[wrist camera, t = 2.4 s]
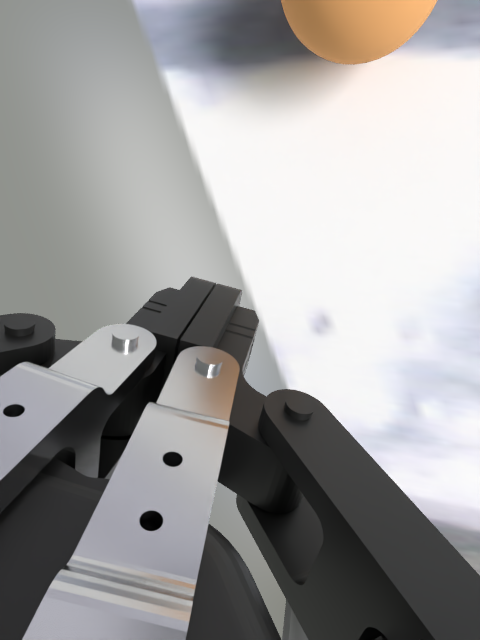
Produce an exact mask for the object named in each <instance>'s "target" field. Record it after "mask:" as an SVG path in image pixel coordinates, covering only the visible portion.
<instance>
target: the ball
mask: <svg viewBox="0 0 480 640" xmlns="http://www.w3.org/2000/svg"><path fill="white" fill-rule="evenodd" d="M436 2H437V0H281V3H282V6H283V10H284V13H285V16H286V18H287V21H288V23H289V25H290V27H291V29H292V30H293V32H294V33H295V35H296V36H297V38H298V39H299V40H300V41H301V42H302V44H304V45H305V46H306V47H307V48H308V49H309V50H310V51H312V52H313V53H315V54H316V55H317V56H319V57H322V58H324V59H326V60H328V61H332V62H335V63H340V64H361V63H367V62H370V61H373V60H377V59H379V58H381V57H384V56H386V55H388V54H389V53H391V52H393V51H394V50H396V49H398V48H399V47H400V46H401V45H403V44H404V43H405V42H407V41H408V40H409V39H410V38H411V37H412V36H413V35H414V34H415V33H416V32H417V30H418V29H419V28H420V27H421V26H422V24H423V23H424V22H425V20H426V19H427V17H428V16H429V14H430V13H431V11H432V9H433V8H434V6H435V4H436Z"/></svg>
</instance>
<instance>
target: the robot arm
mask: <svg viewBox="0 0 480 640" xmlns="http://www.w3.org/2000/svg"><path fill="white" fill-rule="evenodd" d="M241 295H242V290H240V289H236V288H232V287H228V286H224V285H221V284H217V285H216V283H213V282H209V281H206V280H202V279H199V278H195V277H191V278H190V279H189V280H188V281H187V282H186V283H185V285H184V286H183V287H182V288H181V289H180V290H177V289H173V288H167V289H164V290H161V291H159V292H156V293H155V294H154V295H153V296H152V297H151V298H150V299H149V301H148V302H147V303H146V304H145V305H144V306H143V307H142V308H141V309H140V310H139V311H138V312H137V313H136V314H135V315H134V316H133V317H132V318H131V319H130V320H129V321H128V322H127V323H126V324H112V325H108V326H104V327H102V328H100V329H98V330H97V331H96V332H95V333H93V334H92V335H90V336H89V337H88V338H87V339H85V340H84V341H71V340H60V339H55V326H54V324H53V323H52V322H51V321H50V320H48V319H46V318H44V317H41V316H38V315H33V314H23V313H17V314H7V315H1V316H0V640H281V638H280V636H279V633H278V631H277V629H276V627H275V625H274V623H273V620H272V618H271V616H270V614H269V612H268V609H267V607H266V605H265V603H264V601H263V599H262V596H261V594H260V592H259V590H258V588H257V586H256V583H255V581H254V579H253V577H252V575H251V573H250V571H249V569H248V567H247V566H246V564H245V562H244V561H243V559H242V558H241V556H240V555H239V553H238V552H237V551H236V550H235V548H234V547H233V546H232V544H231V543H230V542H229V541H228V540H227V539H226V538H225V537H224V536H223V535H222V534H221V533H220V532H219V531H218V530H216V529H215V528H214V527H213V526H211V525H210V524H209V519H210V514H211V509H212V505H213V499H214V495H215V490H216V485H217V481H218V482H219V483H221V484H223V485H224V486H226V487H227V488H229V489H230V490H232V491H233V492H235V493H236V494H237V498H236V503H237V507H238V510H239V512H240V514H241V516H242V518H243V520H244V521H245V523H246V525H247V527H248V529H249V531H250V533H251V534H252V536H253V538H254V540H255V542H256V544H257V545H258V547H259V549H260V551H261V553H262V555H263V557H264V558H265V560H266V562H267V564H268V566H269V568H270V569H271V571H272V573H273V575H274V577H275V579H276V581H277V583H278V584H279V586H280V588H281V590H282V592H283V594H284V596H285V597H286V608H285V617H284V627H283V636H282V640H480V575H479V574H478V573H477V572H476V571H475V570H474V569H473V568H472V567H471V566H470V565H469V563H468V562H467V561H466V560H465V559H464V558H463V557H462V556H461V555H460V554H459V552H458V551H457V550H456V549H455V548H454V547H453V546H452V545H451V544H450V543H449V542H448V540H447V539H446V538H445V537H444V536H443V535H442V534H441V533H440V532H439V531H438V529H437V528H436V527H435V526H434V525H433V524H432V523H431V522H430V521H429V520H428V519H427V517H426V516H425V515H424V514H423V513H422V512H421V511H420V510H419V509H418V508H417V506H416V505H415V504H414V503H413V502H412V501H411V500H410V499H409V498H408V497H407V496H406V494H405V493H404V492H403V491H402V490H401V489H400V488H399V487H398V486H397V485H396V483H395V482H394V481H393V480H392V479H391V478H390V477H389V476H388V475H387V474H386V473H385V471H384V470H383V469H382V468H381V467H380V466H379V465H378V464H377V463H376V462H375V460H374V459H373V458H372V457H371V456H370V455H369V454H368V453H367V452H366V451H365V450H364V448H363V447H362V446H361V445H360V444H359V443H358V442H357V441H356V440H355V439H354V437H353V436H352V435H351V434H350V433H349V432H348V431H347V430H346V429H345V428H344V427H343V425H342V424H341V423H340V422H339V421H338V420H337V419H336V418H335V417H334V416H333V414H332V413H331V412H330V411H329V410H328V409H327V408H326V407H325V406H324V405H323V404H322V403H321V402H320V401H319V400H317V399H316V398H314V397H312V396H310V395H308V394H306V393H303V392H300V391H296V390H290V389H283V390H277V391H274V392H272V393H270V394H269V395H268V396H267V397H266V396H264V395H263V394H261V393H259V392H257V391H256V390H255V389H253V388H252V387H251V386H250V385H249V384H248V383H247V382H246V380H245V378H244V374H245V371H246V368H247V365H248V361H249V357H250V354H251V350H252V346H253V342H254V338H255V334H256V331H257V327H258V323H259V319H258V317H257V315H256V313H255V311H254V310H250V309H246V308H243V307H239V304H240V300H241Z"/></svg>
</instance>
